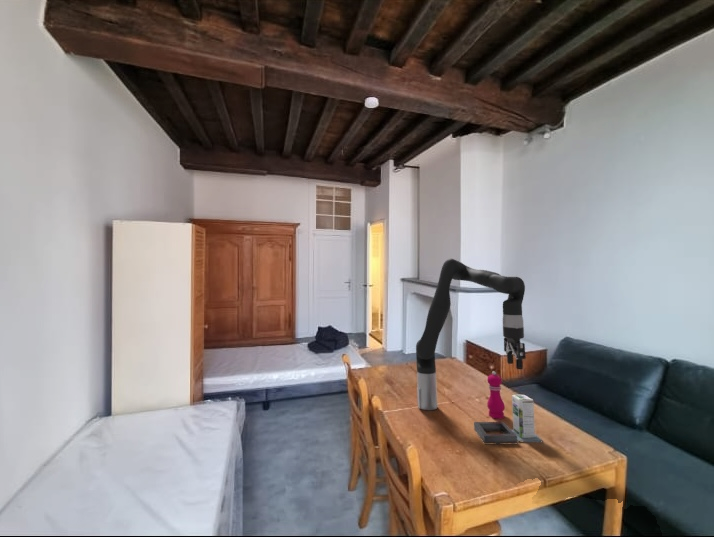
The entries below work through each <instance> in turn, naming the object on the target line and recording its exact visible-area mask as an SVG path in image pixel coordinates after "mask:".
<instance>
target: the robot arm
mask: <svg viewBox="0 0 714 537" xmlns="http://www.w3.org/2000/svg"><path fill="white" fill-rule="evenodd" d="M452 280H455V281H466V282H470V283H475V284H477V285H479V286H483V287H486V288H489V289H492V290H495V291H497V292H499V293H500V294H506V295H508V296H507V299H505V300H504V301H503V302H502V334H503V335H502V336H503V337H504V338H503V351H504V352H505V354H506V363H507V364H509V365H510V364H514V358H515V368H516V370H523V369H524V366H523V365H524V363H523V362H524V361H523V360H526V358H527V357H526V344H525V343H524V342H521V339H524V337H525V329H524V328H525V327H524V317H523V300H524V296H525V290H526V285H525V281H524V280H523V279H522V277H519V276H505V275H501V274H500V273H498V272H494V271H490V270H487V269H486V270H484V269H475V268H472V267H470V266H468V265H466V264H465V263H463V262H461V261H459V260H457V259H454V258H448V259H446V260H445V261H444V263H443V264H442V266H441V270H440V274H439V278H438V281H437V286H436V289H435V292H434V295H433V297H432V300H431V304H430V306H429V309H428V312H427V316H426V323H425V327H424V331H423V332H422V335H421V338H420V339H419V340H417V342H416V344H415V354H416V357H415V358H416V377H417V378H416V380H417V385H416V395H417V406H418V408H419V410H424V411H434V410H437V409H438V393H437V369H436V368H437V366H436V350H437V349H436V348H437V344H438V340H439V336H440V333H441V331H442V330H443V328H444V325H445V323H446V320H447V318H448V314H449V313H450V308H451V306H452V304H451V295H450V294H451V293H450V289H451V288H450V287H451V284H452Z"/></svg>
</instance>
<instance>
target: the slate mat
mask: <svg viewBox="0 0 714 537" xmlns="http://www.w3.org/2000/svg"><path fill="white" fill-rule="evenodd" d="M511 430H512V431H513V432H514V429H511ZM514 433H515V432H514ZM515 434H516V433H515ZM516 436H517V442H518V441H523V442H522V443H544V440H543V439H542V438H541V437H539V435H537V434H536V433H535V437H533V438H521V437H520V436H518V435H517V434H516ZM541 441H542V442H541Z"/></svg>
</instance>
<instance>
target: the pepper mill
mask: <svg viewBox="0 0 714 537" xmlns="http://www.w3.org/2000/svg"><path fill="white" fill-rule="evenodd" d="M486 380H487V383H488V389H489V390H490V392H489V397H488V401H487V403H486V405H487V406H486V407H487V409H489V410H488V416H489V417H490V418H492V419H497V420H501V419H504V417H505V413H504V412H503V411H505V408H506V407H505V403H504V401H503V399H502V395H501V390H502V387H501V385H502V384H503V381H502V378H501V376H499V375H498V374H497V372H496V371H494V370H493V371H492V372H491V374H489V375H488V376H487V379H486Z"/></svg>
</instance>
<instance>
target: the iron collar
mask: <svg viewBox="0 0 714 537" xmlns="http://www.w3.org/2000/svg"><path fill="white" fill-rule="evenodd" d="M473 429H474V431H475V432H477V433H476V434H477V435H478V437H479V436H480V437H479V438H480V440H481V439H482V440H483V441H482V440H481V441H482V442H484V443H496V444H495V445H501V444H500V443H517V444H518V441H517V436H516V434H515V433H514V432H513V431H512V430H513V429H511V428H510V427H509V426H508V425H507V424H506V423H505V422H504V421H473ZM487 432H502V433H487ZM484 443H483V444H484Z"/></svg>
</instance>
